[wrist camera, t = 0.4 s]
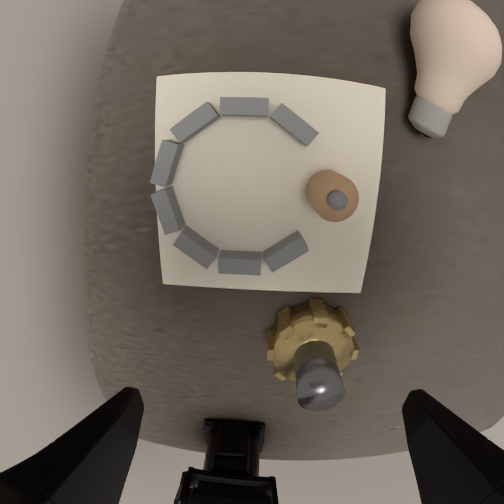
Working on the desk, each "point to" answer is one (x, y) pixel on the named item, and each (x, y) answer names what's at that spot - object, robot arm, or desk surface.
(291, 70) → the desk surface
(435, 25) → the light bulb
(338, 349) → the planet gear
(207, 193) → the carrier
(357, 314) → the desk surface
